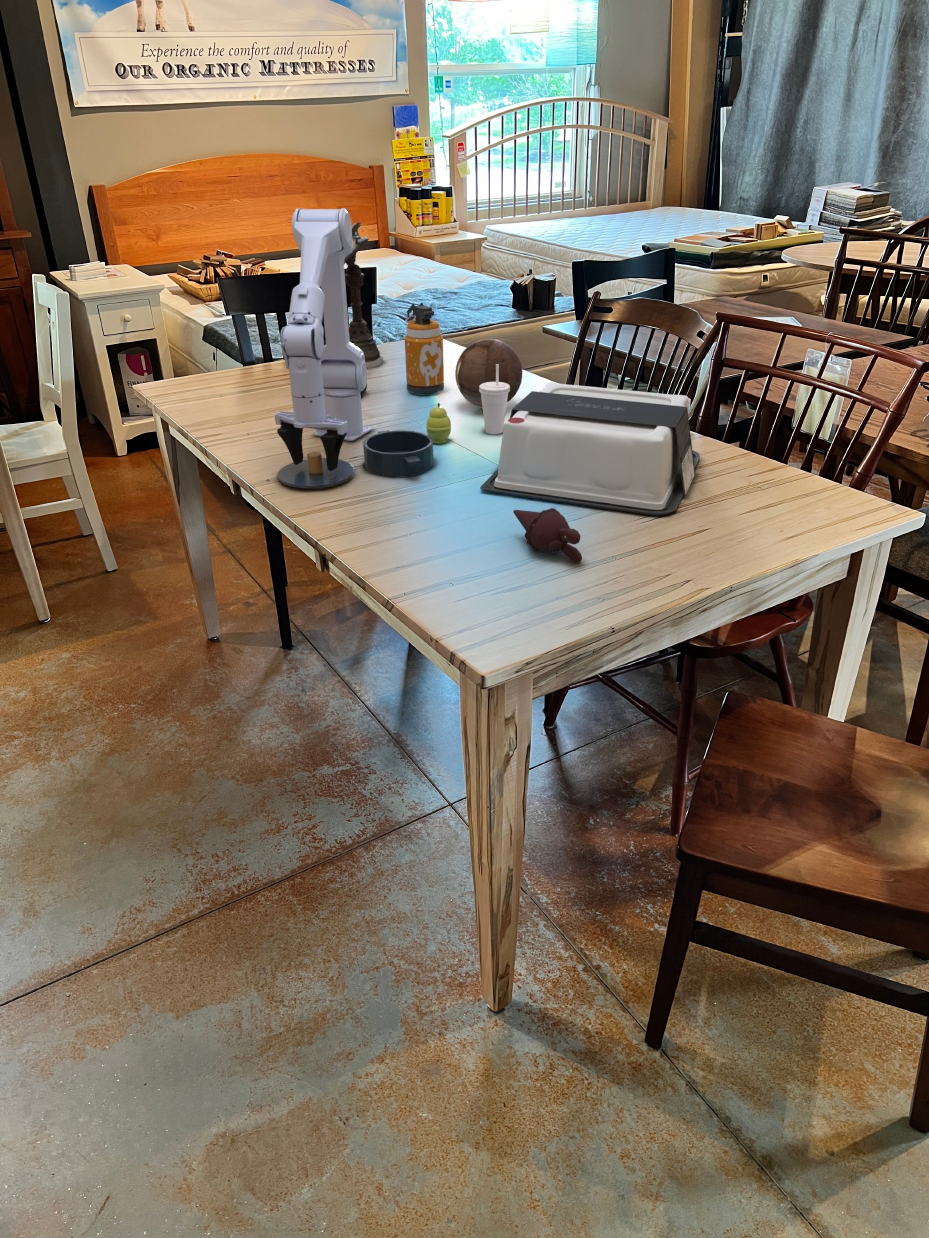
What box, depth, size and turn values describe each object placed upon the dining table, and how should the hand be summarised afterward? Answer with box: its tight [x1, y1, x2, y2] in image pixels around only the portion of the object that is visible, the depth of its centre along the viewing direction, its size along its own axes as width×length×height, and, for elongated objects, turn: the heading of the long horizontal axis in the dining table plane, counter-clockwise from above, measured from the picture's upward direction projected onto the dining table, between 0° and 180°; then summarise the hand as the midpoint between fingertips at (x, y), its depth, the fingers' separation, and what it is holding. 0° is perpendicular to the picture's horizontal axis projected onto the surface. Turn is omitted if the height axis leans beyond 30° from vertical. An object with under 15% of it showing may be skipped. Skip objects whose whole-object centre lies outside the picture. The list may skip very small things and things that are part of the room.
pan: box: [362, 429, 434, 478], centre depth 166 cm, size 13×19×4 cm
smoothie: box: [479, 364, 510, 435], centre depth 180 cm, size 6×6×14 cm
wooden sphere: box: [454, 338, 523, 409], centre depth 194 cm, size 15×15×15 cm
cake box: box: [479, 382, 701, 516], centre depth 159 cm, size 35×33×12 cm
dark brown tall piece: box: [344, 221, 384, 369], centre depth 221 cm, size 17×13×35 cm
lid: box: [277, 451, 355, 489], centre depth 161 cm, size 14×14×4 cm
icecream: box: [512, 507, 583, 564], centre depth 133 cm, size 7×7×15 cm
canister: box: [404, 302, 445, 396], centre depth 205 cm, size 9×11×20 cm
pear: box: [425, 402, 452, 445], centre depth 177 cm, size 5×5×8 cm
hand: (315, 466), depth 161 cm, fingers open, 7 cm apart
